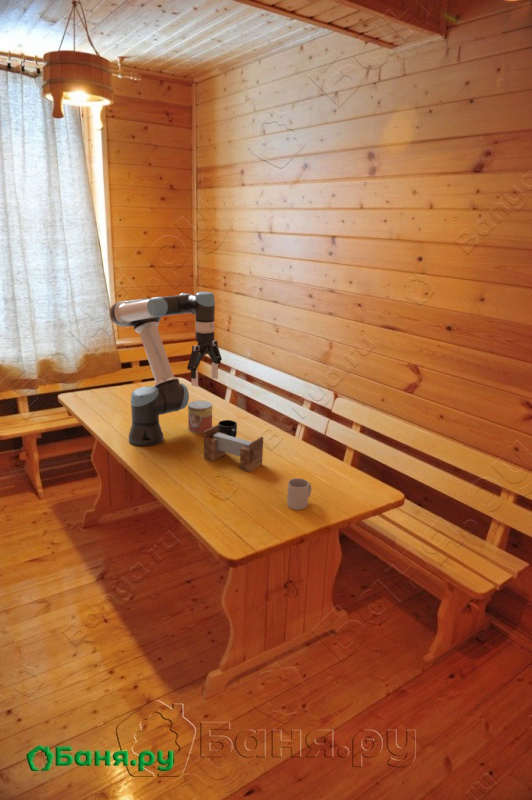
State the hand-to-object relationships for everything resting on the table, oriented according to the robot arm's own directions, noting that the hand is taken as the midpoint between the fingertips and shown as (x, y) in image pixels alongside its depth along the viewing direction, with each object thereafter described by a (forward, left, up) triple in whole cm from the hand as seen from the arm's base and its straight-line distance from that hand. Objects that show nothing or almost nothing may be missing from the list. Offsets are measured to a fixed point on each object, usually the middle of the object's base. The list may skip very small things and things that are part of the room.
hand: (204, 382), depth 236 cm
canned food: (-17, +19, -31) cm, 40 cm away
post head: (+7, -2, -31) cm, 32 cm away
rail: (+16, -2, -27) cm, 31 cm away
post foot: (+25, -2, -31) cm, 40 cm away
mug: (+5, +11, -31) cm, 33 cm away
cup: (+56, -18, -31) cm, 66 cm away
